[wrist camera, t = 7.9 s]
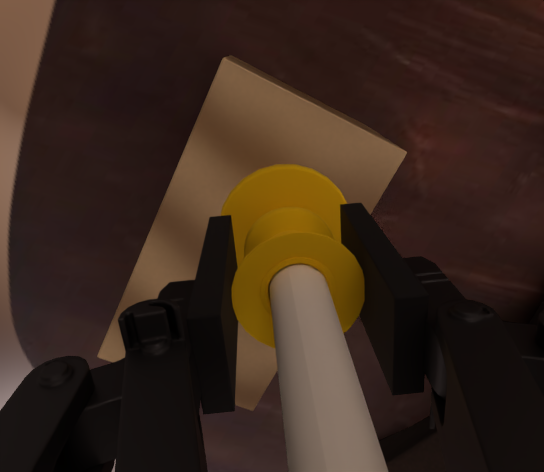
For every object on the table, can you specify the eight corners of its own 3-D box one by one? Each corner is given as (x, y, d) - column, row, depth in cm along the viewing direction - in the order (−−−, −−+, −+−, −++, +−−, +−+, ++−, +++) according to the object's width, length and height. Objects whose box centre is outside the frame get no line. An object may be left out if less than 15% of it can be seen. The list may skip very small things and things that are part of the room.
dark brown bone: (589, 228, 37) (345, 410, 47) (632, 248, 27) (314, 471, 38) (700, 332, 35) (420, 498, 45) (788, 392, 25) (408, 586, 36)
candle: (372, 192, 18) (921, 814, 3) (317, 302, 19) (516, 1027, 5) (247, 142, 17) (246, 711, 2) (200, 262, 18) (29, 1018, 4)
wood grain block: (230, 55, 29) (223, 57, 21) (365, 124, 31) (408, 152, 23) (133, 283, 35) (96, 357, 26) (252, 329, 37) (253, 411, 28)
